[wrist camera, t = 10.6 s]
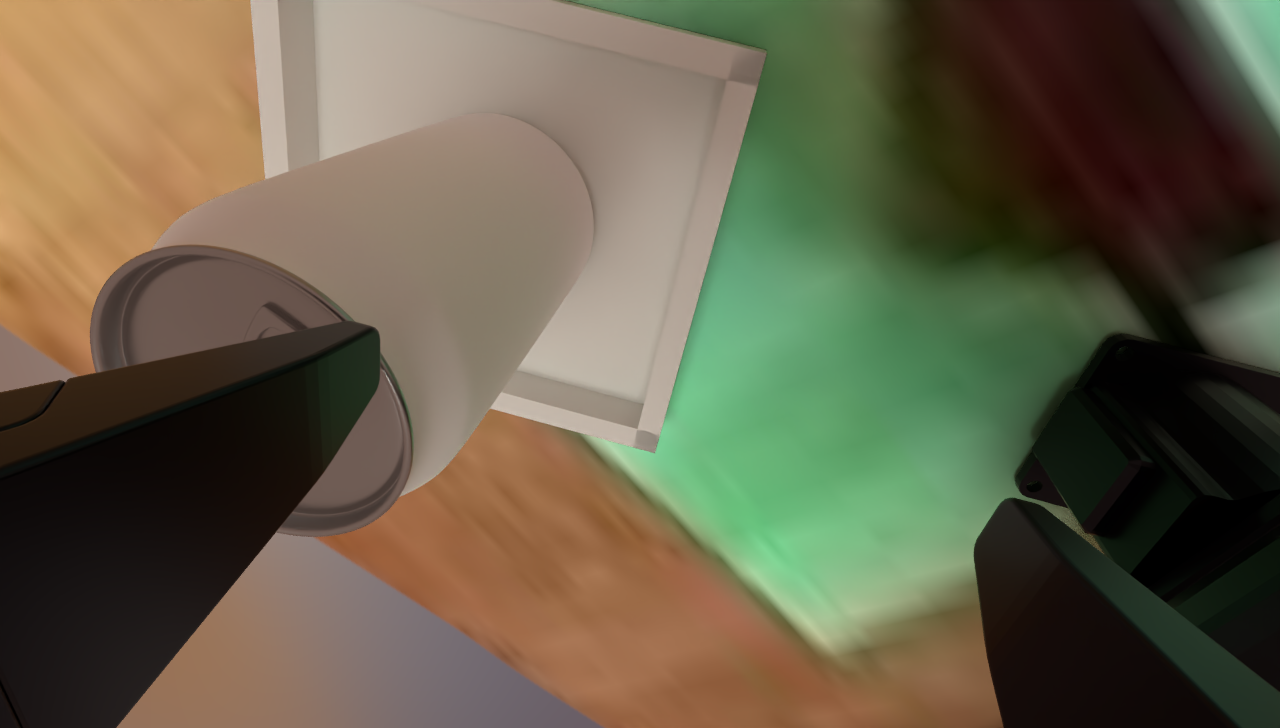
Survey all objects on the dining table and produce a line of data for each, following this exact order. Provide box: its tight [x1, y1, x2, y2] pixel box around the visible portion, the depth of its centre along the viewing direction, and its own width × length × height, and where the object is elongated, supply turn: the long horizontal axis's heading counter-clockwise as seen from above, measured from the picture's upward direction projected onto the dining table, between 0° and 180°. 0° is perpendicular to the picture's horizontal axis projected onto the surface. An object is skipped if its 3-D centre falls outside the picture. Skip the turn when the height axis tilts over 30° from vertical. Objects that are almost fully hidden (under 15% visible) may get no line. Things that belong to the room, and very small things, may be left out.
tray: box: [250, 0, 767, 453], centre depth 21 cm, size 14×13×2 cm
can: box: [90, 113, 594, 537], centre depth 16 cm, size 6×6×12 cm
